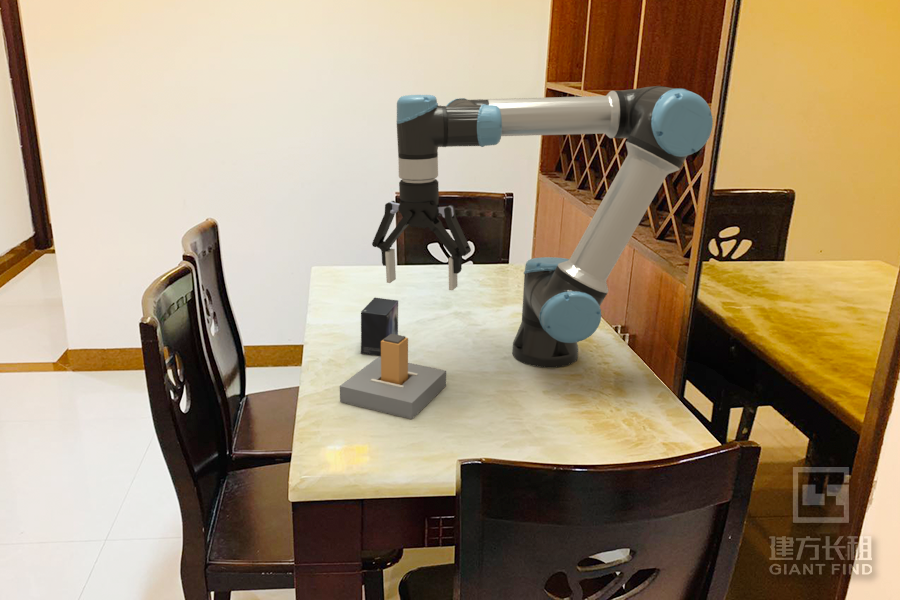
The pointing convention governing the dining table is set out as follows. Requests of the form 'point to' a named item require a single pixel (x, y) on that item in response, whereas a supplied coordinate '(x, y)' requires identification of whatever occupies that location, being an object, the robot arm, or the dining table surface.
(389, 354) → the plug
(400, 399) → the socket
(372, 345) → the small box
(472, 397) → the dining table surface
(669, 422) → the dining table surface
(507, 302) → the dining table surface
